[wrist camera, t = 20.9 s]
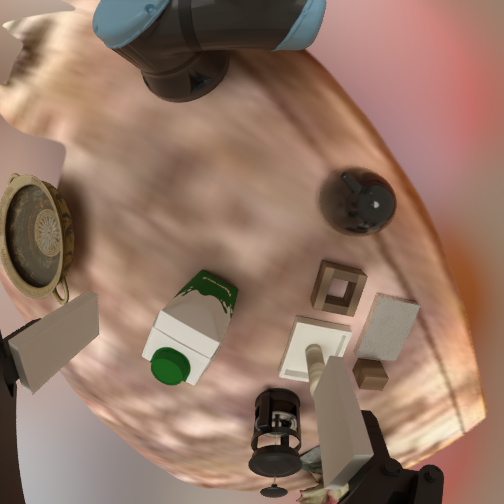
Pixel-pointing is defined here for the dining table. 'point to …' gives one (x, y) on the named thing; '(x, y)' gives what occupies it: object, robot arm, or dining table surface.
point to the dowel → (314, 365)
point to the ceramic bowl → (35, 237)
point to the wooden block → (370, 374)
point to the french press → (276, 425)
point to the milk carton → (190, 330)
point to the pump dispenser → (357, 201)
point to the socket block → (351, 295)
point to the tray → (305, 334)
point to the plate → (386, 327)
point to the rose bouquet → (317, 498)
